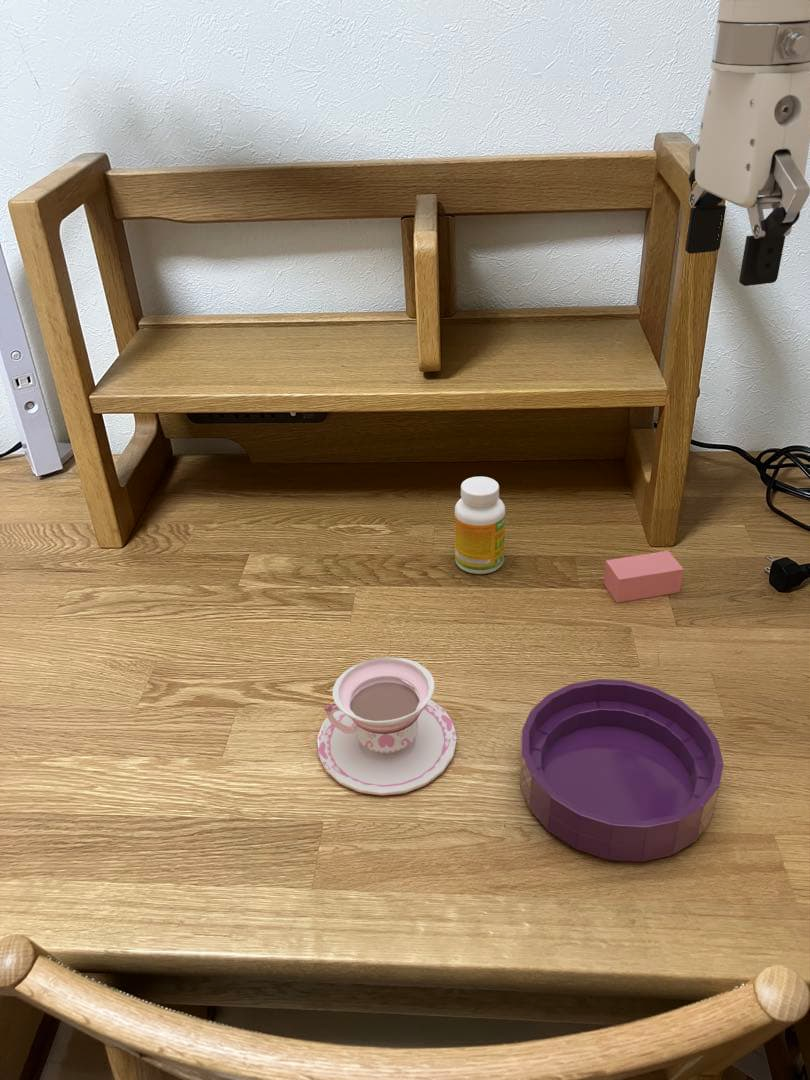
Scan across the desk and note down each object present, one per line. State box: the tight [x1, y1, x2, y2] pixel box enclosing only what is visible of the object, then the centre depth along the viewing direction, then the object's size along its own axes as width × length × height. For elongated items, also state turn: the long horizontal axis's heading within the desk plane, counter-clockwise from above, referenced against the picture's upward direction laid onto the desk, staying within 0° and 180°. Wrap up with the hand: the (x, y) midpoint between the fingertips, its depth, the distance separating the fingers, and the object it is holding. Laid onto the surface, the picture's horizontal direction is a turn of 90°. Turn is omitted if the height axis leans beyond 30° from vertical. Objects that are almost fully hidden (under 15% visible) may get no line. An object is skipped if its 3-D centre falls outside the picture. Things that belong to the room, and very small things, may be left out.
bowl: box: [519, 678, 724, 862], centre depth 71 cm, size 15×15×4 cm
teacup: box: [316, 656, 458, 796], centre depth 75 cm, size 12×12×6 cm
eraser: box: [603, 550, 684, 604], centre depth 93 cm, size 7×4×3 cm, turn 102°
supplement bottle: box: [454, 476, 506, 575], centre depth 96 cm, size 5×5×10 cm
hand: (728, 266), depth 79 cm, fingers open, 9 cm apart
